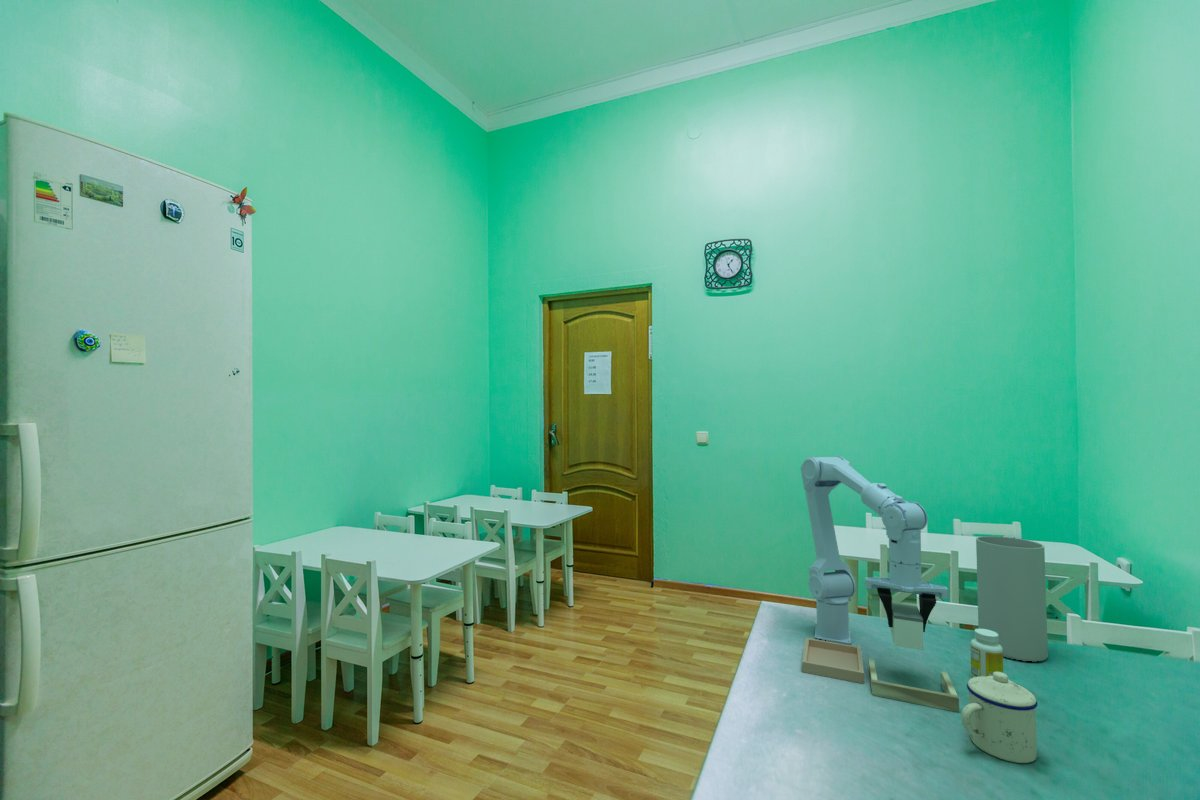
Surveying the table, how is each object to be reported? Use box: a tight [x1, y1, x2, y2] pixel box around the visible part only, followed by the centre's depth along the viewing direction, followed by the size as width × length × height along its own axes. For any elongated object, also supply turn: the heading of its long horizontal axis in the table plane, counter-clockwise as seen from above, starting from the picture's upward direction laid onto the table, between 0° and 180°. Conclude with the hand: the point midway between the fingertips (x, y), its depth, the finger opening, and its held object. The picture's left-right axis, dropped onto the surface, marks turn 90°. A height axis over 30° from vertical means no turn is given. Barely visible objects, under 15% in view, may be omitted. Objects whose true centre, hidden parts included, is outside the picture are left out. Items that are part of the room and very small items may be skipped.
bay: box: [868, 658, 960, 713], centre depth 102 cm, size 11×14×2 cm
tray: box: [801, 637, 865, 685], centre depth 112 cm, size 14×12×2 cm
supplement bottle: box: [970, 628, 1004, 678], centre depth 106 cm, size 5×5×10 cm
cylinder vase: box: [975, 535, 1049, 663], centre depth 120 cm, size 12×12×25 cm
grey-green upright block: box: [890, 602, 925, 651], centre depth 106 cm, size 8×5×6 cm, turn 155°
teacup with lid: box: [960, 672, 1038, 764], centre depth 84 cm, size 12×9×12 cm
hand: (906, 628), depth 106 cm, fingers closed on grey-green upright block, 5 cm apart
